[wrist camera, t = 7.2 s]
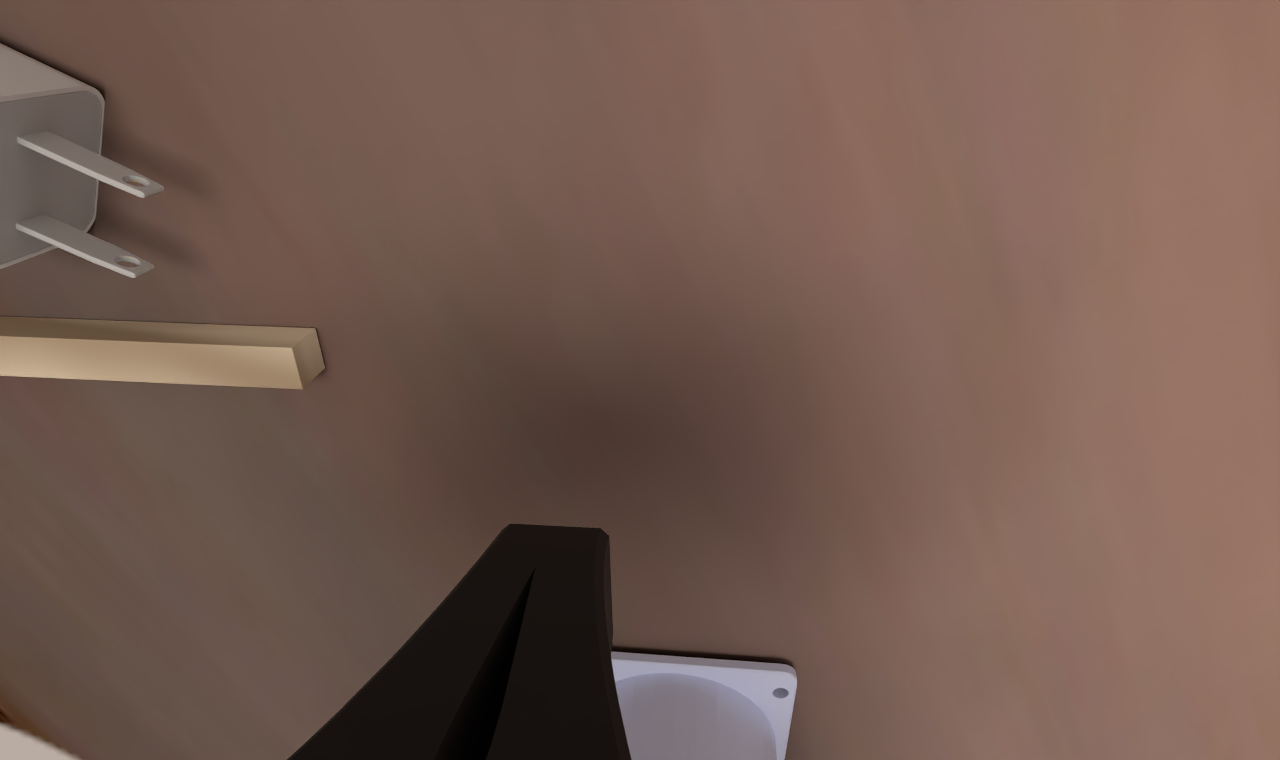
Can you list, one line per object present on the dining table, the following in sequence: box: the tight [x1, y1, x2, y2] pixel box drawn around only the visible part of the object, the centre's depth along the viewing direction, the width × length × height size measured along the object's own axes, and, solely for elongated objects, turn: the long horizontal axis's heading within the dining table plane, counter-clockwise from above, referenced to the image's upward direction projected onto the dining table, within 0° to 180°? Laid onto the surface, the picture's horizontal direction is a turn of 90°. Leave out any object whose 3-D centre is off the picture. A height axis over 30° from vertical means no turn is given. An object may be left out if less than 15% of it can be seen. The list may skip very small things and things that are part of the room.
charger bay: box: [0, 316, 325, 389], centre depth 16 cm, size 12×11×1 cm
